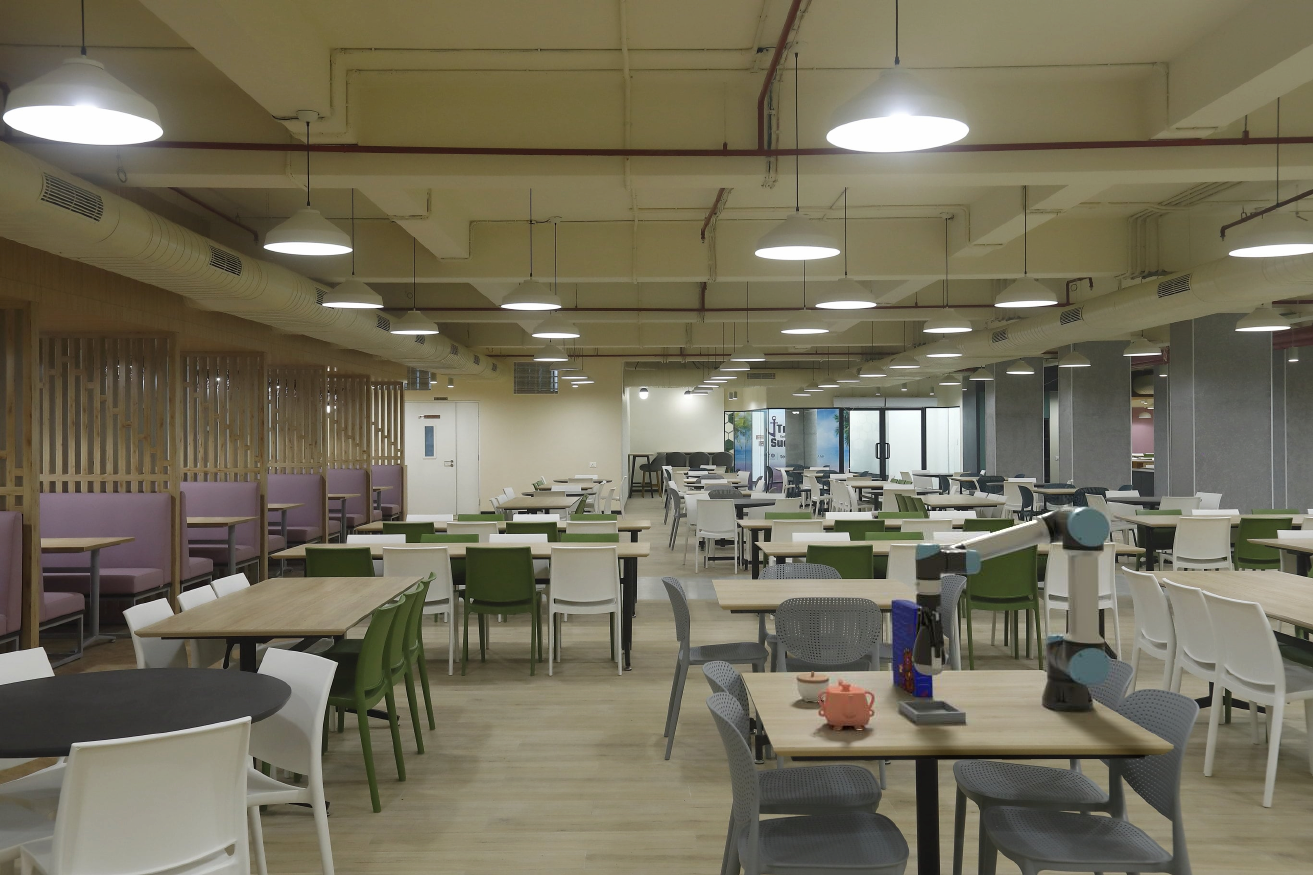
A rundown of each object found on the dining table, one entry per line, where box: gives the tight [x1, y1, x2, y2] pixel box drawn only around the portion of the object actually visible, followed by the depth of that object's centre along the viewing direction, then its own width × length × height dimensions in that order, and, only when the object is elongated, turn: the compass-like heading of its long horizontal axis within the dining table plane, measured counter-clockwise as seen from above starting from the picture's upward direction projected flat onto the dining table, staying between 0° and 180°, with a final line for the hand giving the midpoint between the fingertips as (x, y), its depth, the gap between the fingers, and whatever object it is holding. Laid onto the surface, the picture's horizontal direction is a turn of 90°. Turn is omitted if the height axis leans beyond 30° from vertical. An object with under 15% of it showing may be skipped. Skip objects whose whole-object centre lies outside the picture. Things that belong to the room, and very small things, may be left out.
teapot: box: [817, 678, 876, 730], centre depth 271 cm, size 15×17×13 cm
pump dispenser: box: [912, 625, 948, 676], centre depth 281 cm, size 10×10×15 cm
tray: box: [897, 699, 967, 725], centre depth 280 cm, size 15×15×3 cm
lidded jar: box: [796, 671, 830, 703], centre depth 302 cm, size 11×11×9 cm
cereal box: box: [891, 599, 934, 698], centre depth 316 cm, size 22×6×30 cm, turn 5°
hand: (929, 664), depth 280 cm, fingers closed on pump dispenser, 10 cm apart
